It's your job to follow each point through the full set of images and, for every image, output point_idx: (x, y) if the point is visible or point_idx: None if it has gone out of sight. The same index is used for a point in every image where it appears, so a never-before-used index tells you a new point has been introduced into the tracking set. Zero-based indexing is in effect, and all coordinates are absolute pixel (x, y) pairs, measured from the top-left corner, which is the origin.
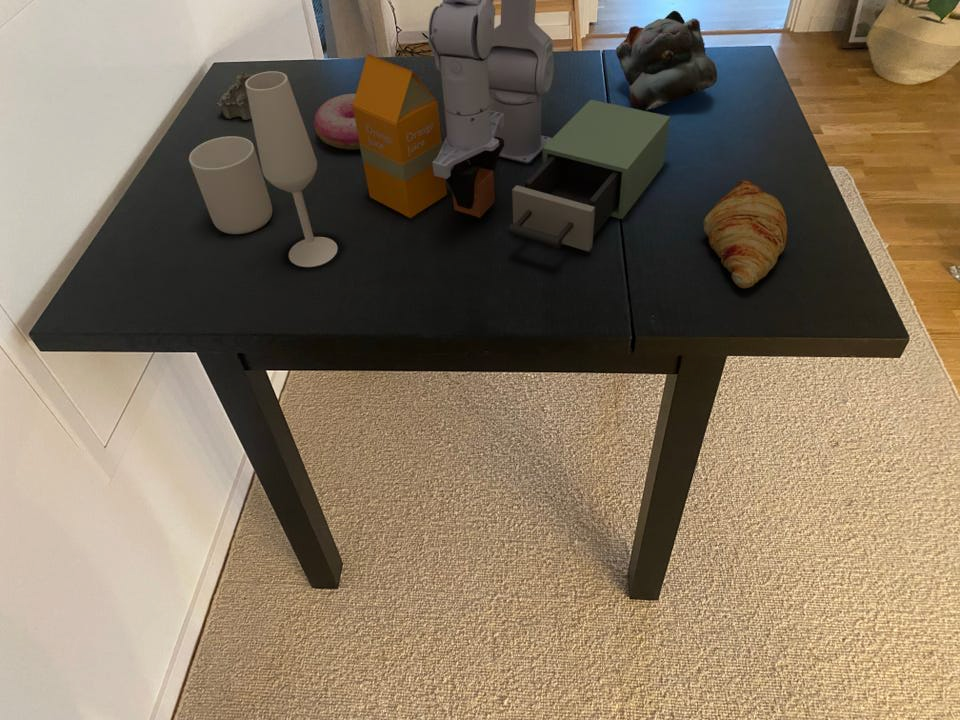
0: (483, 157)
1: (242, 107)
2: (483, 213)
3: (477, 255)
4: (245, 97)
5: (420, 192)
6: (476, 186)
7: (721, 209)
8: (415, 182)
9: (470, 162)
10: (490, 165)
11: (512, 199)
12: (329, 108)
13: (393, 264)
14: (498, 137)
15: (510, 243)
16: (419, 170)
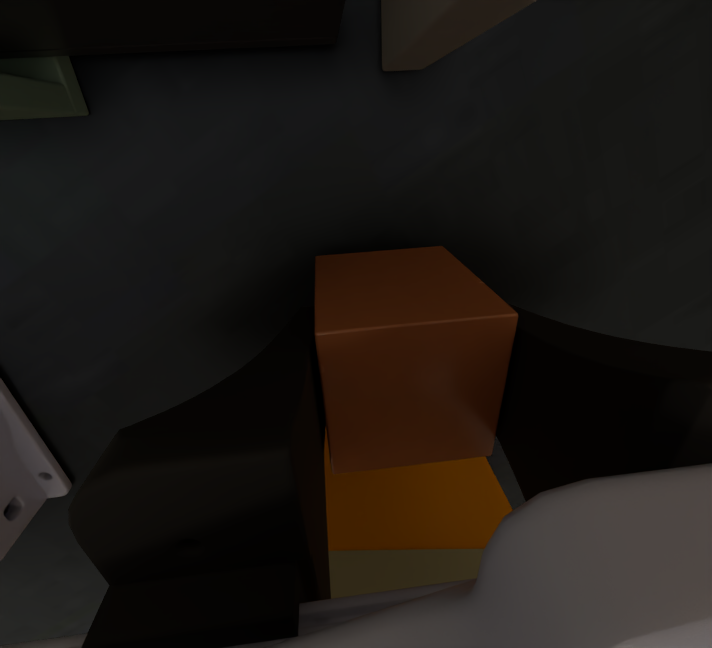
0: (314, 452)
1: None
2: (413, 248)
3: (594, 135)
4: None
5: (440, 475)
6: (517, 320)
7: None
8: (474, 519)
9: (324, 471)
10: (308, 374)
11: (499, 22)
12: None
13: (678, 342)
14: (91, 553)
15: (481, 43)
16: (462, 559)
